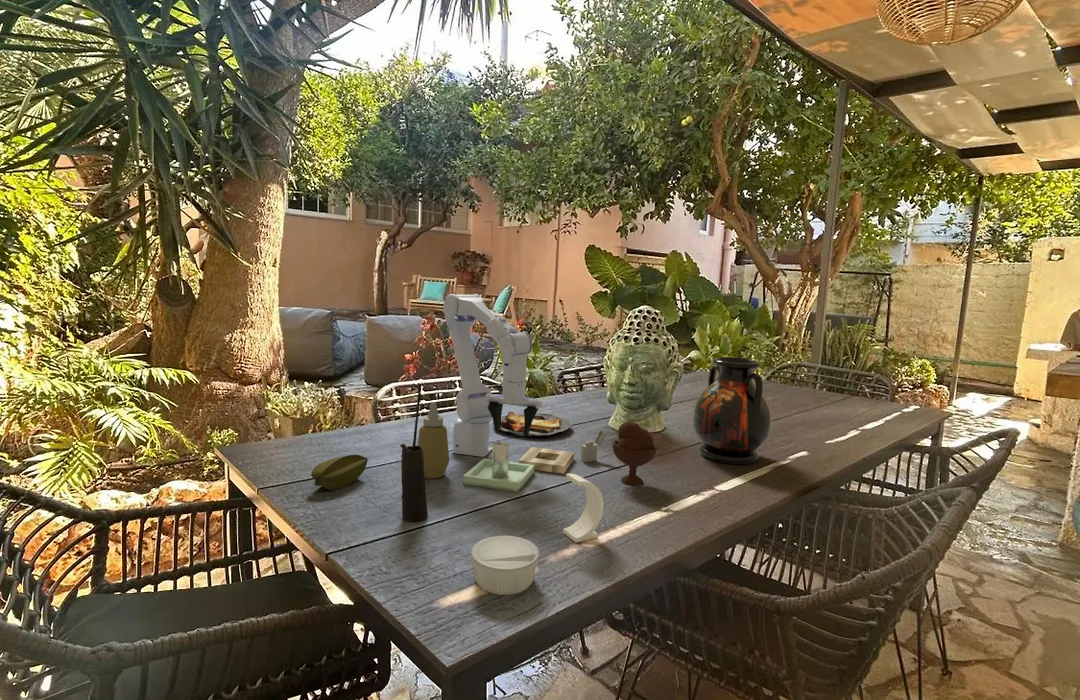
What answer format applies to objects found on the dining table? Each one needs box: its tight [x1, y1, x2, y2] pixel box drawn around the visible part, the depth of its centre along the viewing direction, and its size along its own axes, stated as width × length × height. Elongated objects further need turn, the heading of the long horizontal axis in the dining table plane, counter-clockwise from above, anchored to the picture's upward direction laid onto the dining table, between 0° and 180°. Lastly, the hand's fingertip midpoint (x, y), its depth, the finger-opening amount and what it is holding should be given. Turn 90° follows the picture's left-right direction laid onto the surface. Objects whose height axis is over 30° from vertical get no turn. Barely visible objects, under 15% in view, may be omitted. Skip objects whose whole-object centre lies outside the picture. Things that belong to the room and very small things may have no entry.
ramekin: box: [470, 535, 540, 596], centre depth 96 cm, size 11×11×5 cm
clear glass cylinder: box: [491, 441, 510, 479], centre depth 142 cm, size 4×4×8 cm
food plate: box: [492, 411, 573, 437], centre depth 188 cm, size 25×23×4 cm
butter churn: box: [399, 383, 429, 523], centre depth 117 cm, size 9×10×28 cm
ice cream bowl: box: [612, 421, 658, 487], centre depth 143 cm, size 11×11×15 cm
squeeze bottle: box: [417, 402, 450, 479], centre depth 141 cm, size 8×8×18 cm
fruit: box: [310, 454, 369, 491], centre depth 134 cm, size 11×12×7 cm
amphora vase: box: [691, 356, 773, 465], centre depth 166 cm, size 22×22×28 cm
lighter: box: [580, 429, 608, 463], centre depth 159 cm, size 7×2×8 cm, turn 120°
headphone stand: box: [562, 473, 605, 543], centre depth 113 cm, size 5×6×12 cm
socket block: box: [518, 446, 575, 475], centre depth 155 cm, size 12×12×2 cm
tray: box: [462, 458, 535, 493], centre depth 142 cm, size 14×14×2 cm
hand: (512, 432), depth 149 cm, fingers open, 7 cm apart
